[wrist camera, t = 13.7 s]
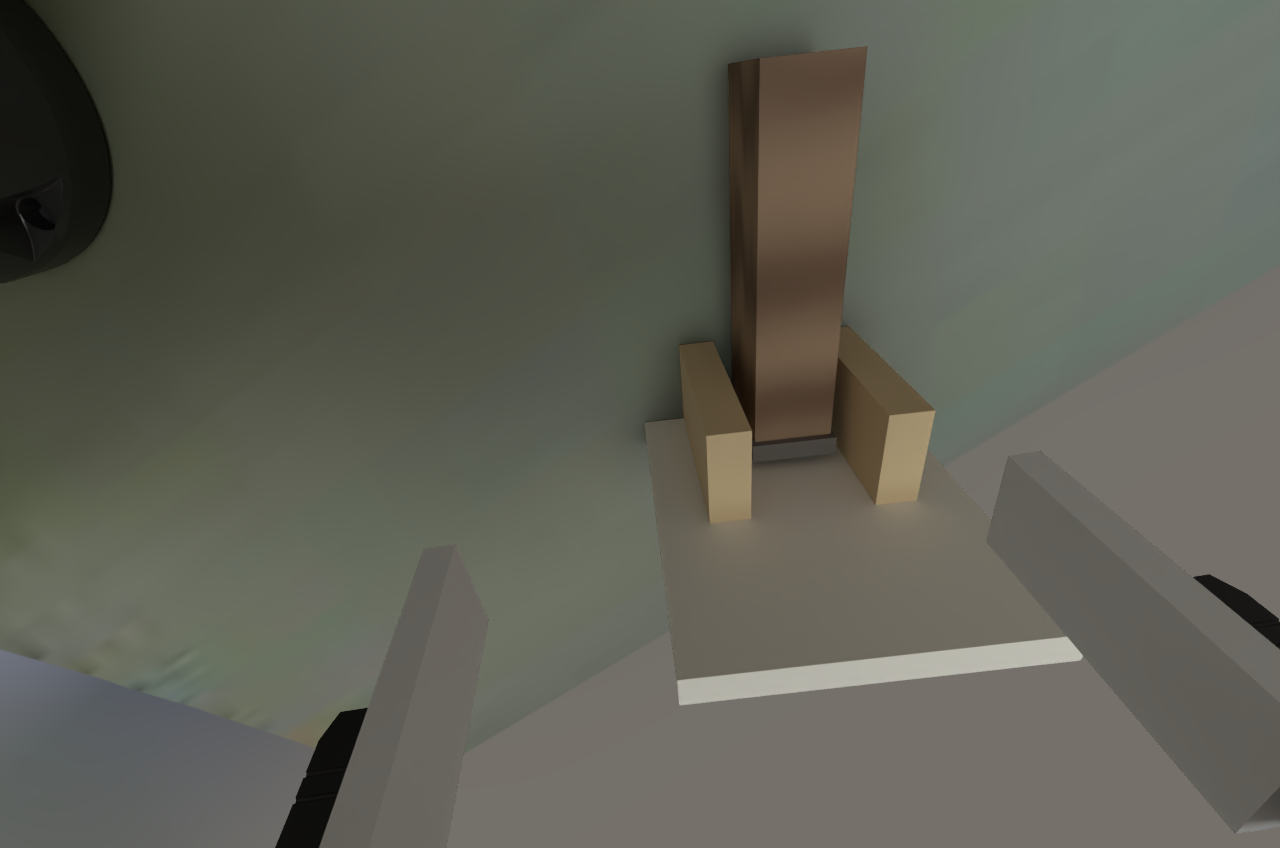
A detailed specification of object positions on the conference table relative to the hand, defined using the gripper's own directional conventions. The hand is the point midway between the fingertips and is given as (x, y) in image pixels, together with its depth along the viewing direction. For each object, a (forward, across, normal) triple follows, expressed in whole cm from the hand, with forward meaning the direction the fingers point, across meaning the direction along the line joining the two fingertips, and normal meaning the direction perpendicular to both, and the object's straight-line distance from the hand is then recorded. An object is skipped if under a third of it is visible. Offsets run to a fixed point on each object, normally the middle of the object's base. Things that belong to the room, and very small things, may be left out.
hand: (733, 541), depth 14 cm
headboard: (+20, +6, -7) cm, 22 cm away
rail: (+20, +6, 0) cm, 21 cm away
